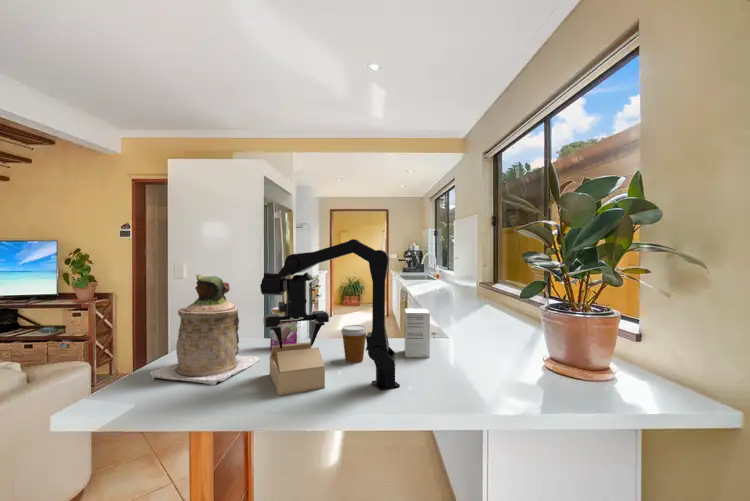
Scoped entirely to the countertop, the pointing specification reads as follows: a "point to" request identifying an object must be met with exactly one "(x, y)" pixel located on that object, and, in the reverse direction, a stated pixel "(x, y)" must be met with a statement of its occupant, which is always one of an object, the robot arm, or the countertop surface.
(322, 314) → the robot arm
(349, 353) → the disposable coffee cup
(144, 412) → the countertop surface
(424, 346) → the supplement box
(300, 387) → the carton
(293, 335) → the candy bar box
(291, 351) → the near flap
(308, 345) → the far flap
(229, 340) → the cookie jar
